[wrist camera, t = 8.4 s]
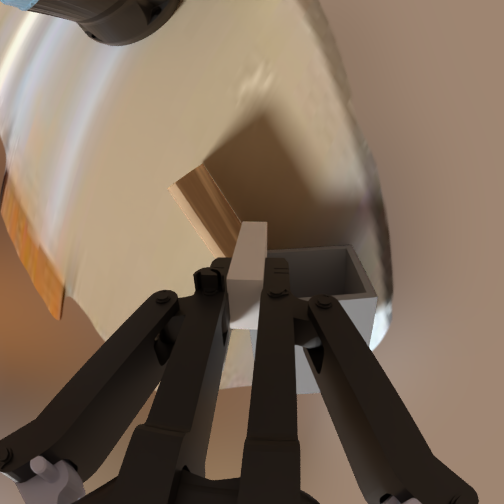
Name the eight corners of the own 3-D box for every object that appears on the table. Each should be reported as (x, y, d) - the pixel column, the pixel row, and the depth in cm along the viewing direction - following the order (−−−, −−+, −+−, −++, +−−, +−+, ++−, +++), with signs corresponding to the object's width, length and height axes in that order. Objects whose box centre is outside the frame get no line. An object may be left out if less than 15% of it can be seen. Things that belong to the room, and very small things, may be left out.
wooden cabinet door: (244, 258, 42) (234, 304, 32) (187, 173, 37) (156, 195, 27) (259, 250, 41) (254, 296, 31) (203, 163, 36) (175, 182, 26)
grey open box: (254, 251, 42) (246, 306, 30) (351, 244, 40) (377, 297, 29) (264, 334, 49) (259, 395, 37) (345, 329, 47) (359, 388, 36)
